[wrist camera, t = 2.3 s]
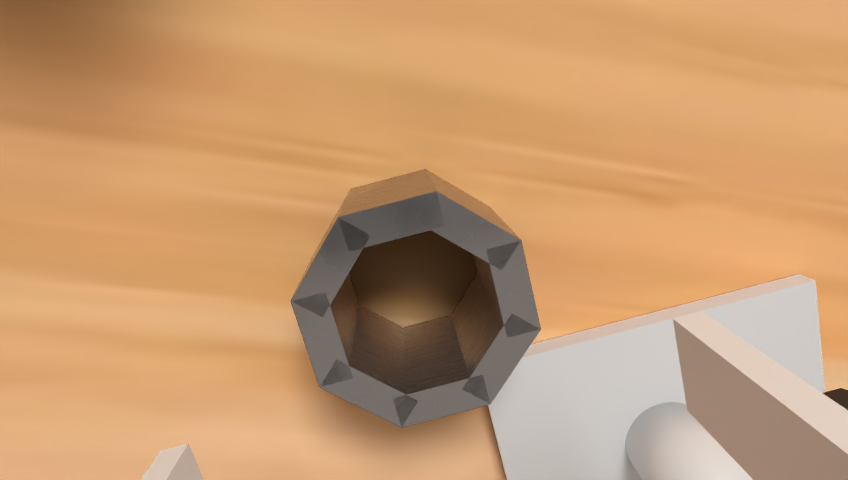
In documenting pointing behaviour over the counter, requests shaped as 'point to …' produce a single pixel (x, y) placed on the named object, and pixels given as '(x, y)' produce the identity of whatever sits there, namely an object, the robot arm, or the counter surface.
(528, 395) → the panel
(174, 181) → the counter surface
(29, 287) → the counter surface
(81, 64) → the counter surface
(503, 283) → the collar
